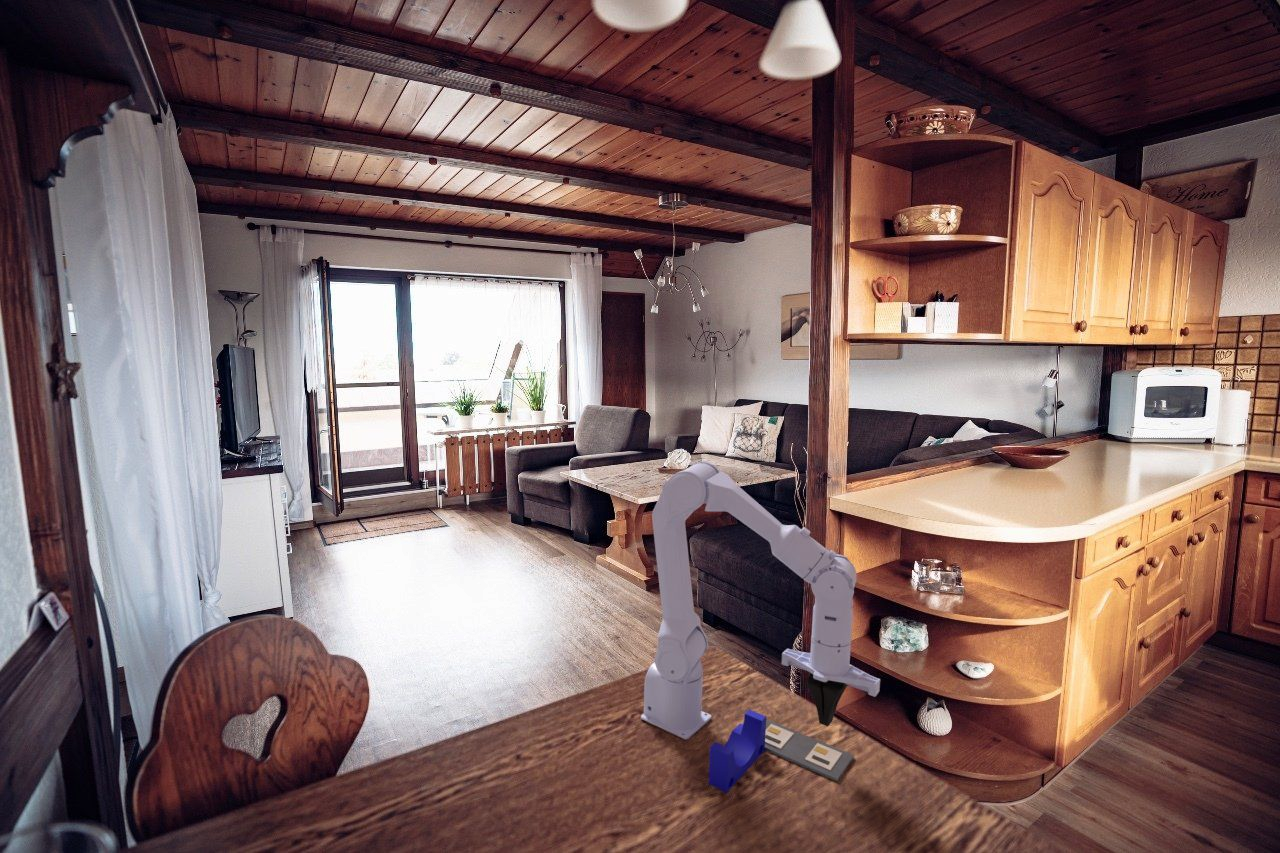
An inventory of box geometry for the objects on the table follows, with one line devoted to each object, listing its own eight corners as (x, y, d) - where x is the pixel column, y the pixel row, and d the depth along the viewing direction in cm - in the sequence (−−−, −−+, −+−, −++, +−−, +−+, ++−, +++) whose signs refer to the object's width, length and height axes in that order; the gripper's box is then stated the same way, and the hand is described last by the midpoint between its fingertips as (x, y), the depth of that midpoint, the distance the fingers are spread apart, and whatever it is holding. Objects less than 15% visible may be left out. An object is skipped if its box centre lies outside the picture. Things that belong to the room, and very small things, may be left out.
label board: (746, 741, 102) (746, 737, 102) (765, 721, 108) (765, 717, 108) (837, 782, 93) (837, 777, 93) (853, 757, 99) (854, 753, 99)
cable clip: (739, 740, 103) (740, 706, 102) (764, 751, 100) (766, 716, 99) (699, 780, 93) (701, 742, 93) (726, 793, 91) (728, 755, 90)
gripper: (774, 633, 96) (770, 716, 98) (871, 664, 88) (865, 754, 90) (794, 617, 102) (789, 696, 104) (886, 645, 93) (880, 730, 95)
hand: (825, 721), depth 97 cm, fingers closed
